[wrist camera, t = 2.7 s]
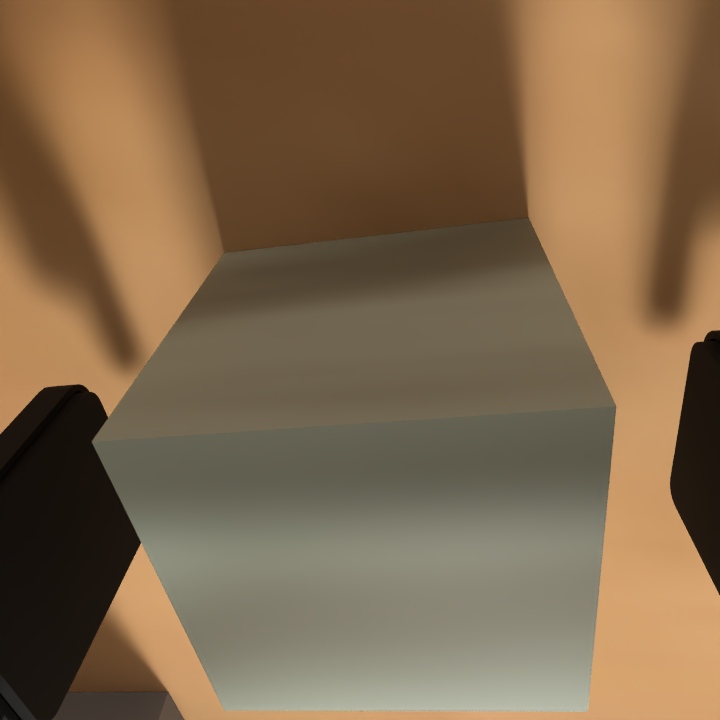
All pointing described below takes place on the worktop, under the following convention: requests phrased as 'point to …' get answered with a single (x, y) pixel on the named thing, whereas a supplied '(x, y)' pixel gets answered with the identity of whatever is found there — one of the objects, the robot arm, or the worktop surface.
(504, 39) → the worktop surface
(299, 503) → the sage block
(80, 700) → the tower base
